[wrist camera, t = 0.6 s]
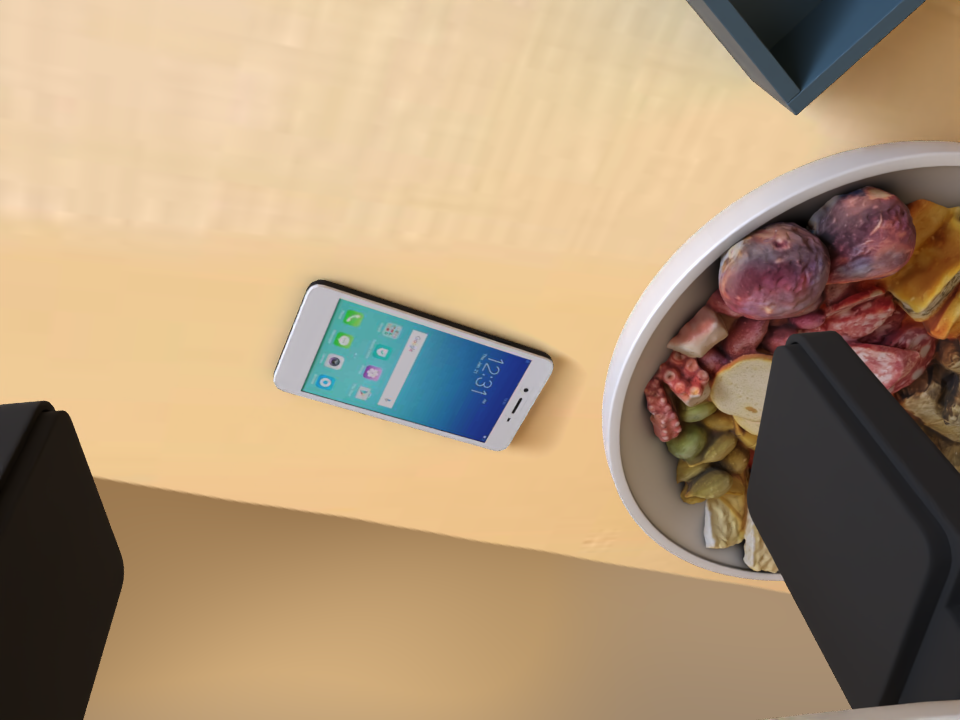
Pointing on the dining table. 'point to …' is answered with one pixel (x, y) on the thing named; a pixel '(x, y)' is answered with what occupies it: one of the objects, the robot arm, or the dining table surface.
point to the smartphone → (409, 367)
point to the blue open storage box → (800, 39)
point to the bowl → (783, 335)
